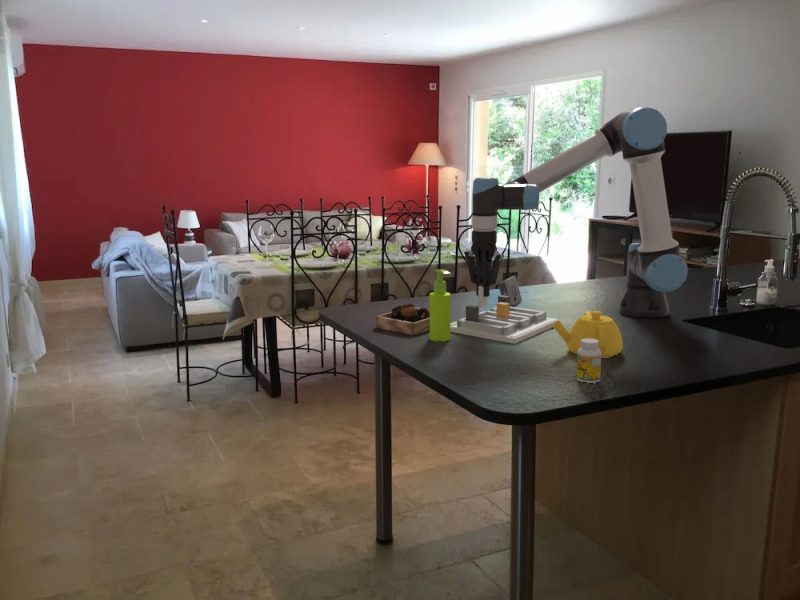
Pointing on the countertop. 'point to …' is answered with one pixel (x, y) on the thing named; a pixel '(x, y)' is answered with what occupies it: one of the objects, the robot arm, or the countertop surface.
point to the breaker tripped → (502, 310)
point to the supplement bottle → (589, 361)
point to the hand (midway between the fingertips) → (482, 306)
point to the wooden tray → (403, 324)
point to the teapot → (592, 333)
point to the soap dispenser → (440, 309)
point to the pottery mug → (409, 313)
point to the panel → (505, 338)
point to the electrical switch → (511, 290)
